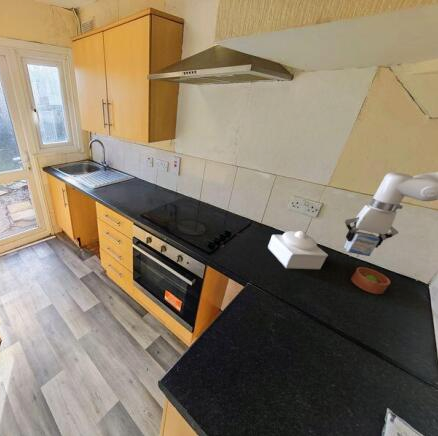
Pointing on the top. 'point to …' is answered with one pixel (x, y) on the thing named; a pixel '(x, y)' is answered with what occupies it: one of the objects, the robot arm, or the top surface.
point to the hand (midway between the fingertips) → (361, 242)
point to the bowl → (369, 284)
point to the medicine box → (362, 243)
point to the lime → (371, 278)
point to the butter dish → (297, 250)
